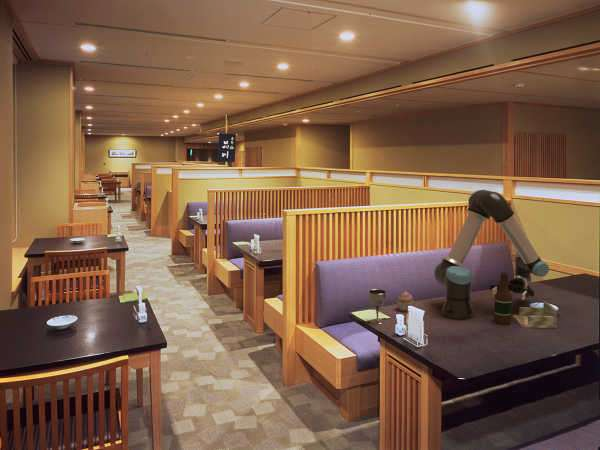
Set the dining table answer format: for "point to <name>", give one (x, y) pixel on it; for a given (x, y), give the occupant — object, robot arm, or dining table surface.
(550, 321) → the wooden display stand
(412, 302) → the cupcake
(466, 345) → the dining table surface
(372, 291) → the wine glass
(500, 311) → the beer bottle
